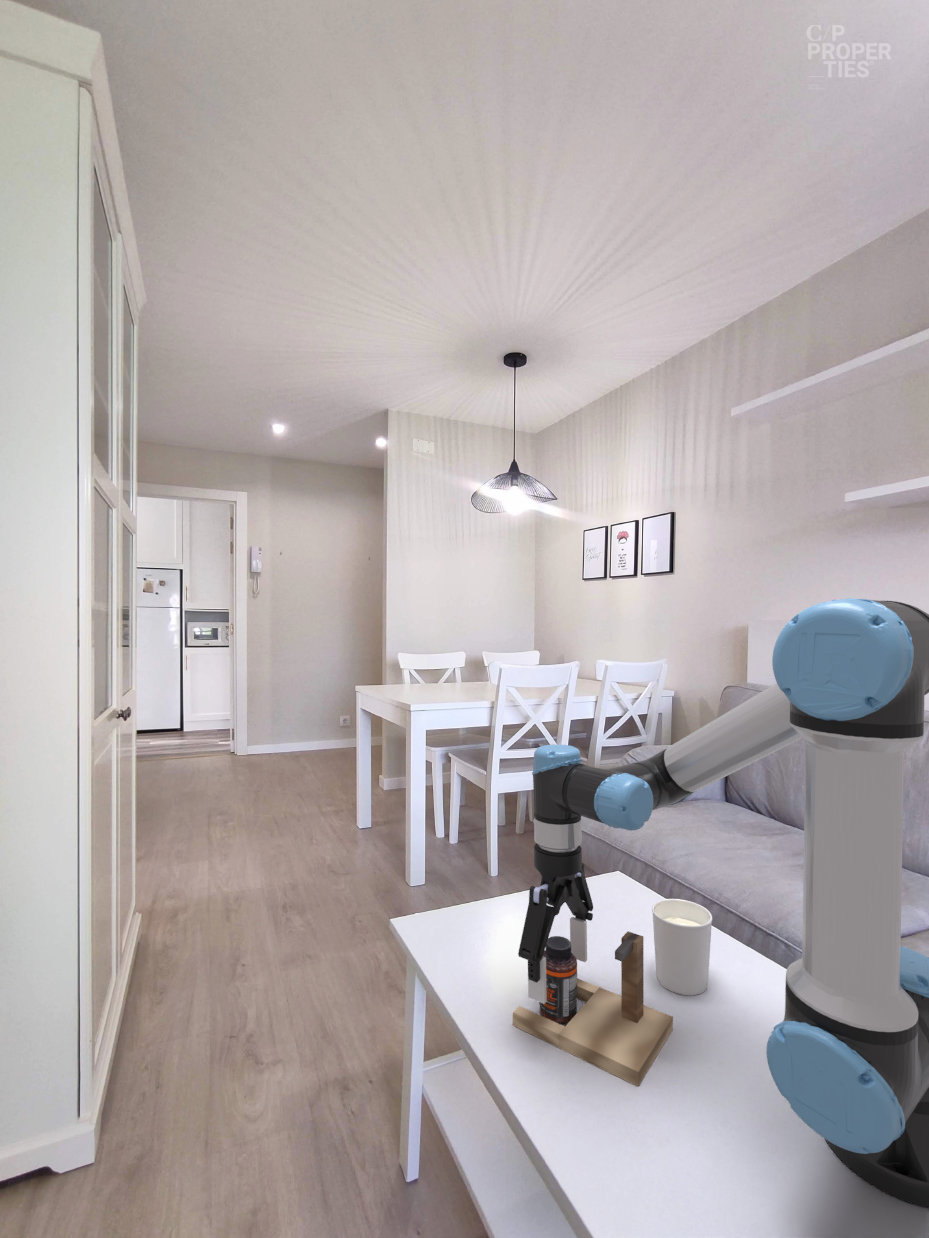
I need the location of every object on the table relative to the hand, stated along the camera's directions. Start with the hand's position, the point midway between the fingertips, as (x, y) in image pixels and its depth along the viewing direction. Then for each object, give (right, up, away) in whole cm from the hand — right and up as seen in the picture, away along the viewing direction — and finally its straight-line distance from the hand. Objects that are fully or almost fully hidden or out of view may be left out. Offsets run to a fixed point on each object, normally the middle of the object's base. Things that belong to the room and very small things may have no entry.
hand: (559, 978), depth 95 cm
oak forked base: (+5, -5, -3) cm, 8 cm away
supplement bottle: (0, -6, 0) cm, 6 cm away
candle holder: (+23, -6, +8) cm, 25 cm away
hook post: (+9, -3, -5) cm, 11 cm away
